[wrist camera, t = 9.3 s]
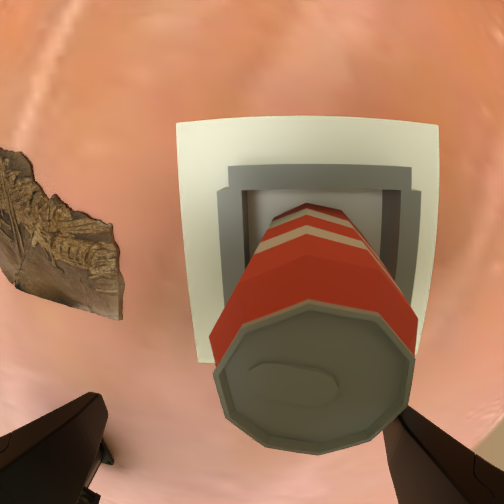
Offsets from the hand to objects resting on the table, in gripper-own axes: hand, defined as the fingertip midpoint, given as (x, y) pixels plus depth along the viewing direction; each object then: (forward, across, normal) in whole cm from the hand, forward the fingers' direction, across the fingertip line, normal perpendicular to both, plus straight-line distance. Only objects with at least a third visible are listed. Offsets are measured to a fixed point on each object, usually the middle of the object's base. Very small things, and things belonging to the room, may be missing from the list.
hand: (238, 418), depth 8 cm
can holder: (+12, -4, -2) cm, 13 cm away
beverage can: (+11, -3, -2) cm, 12 cm away
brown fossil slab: (+13, +20, -5) cm, 25 cm away
